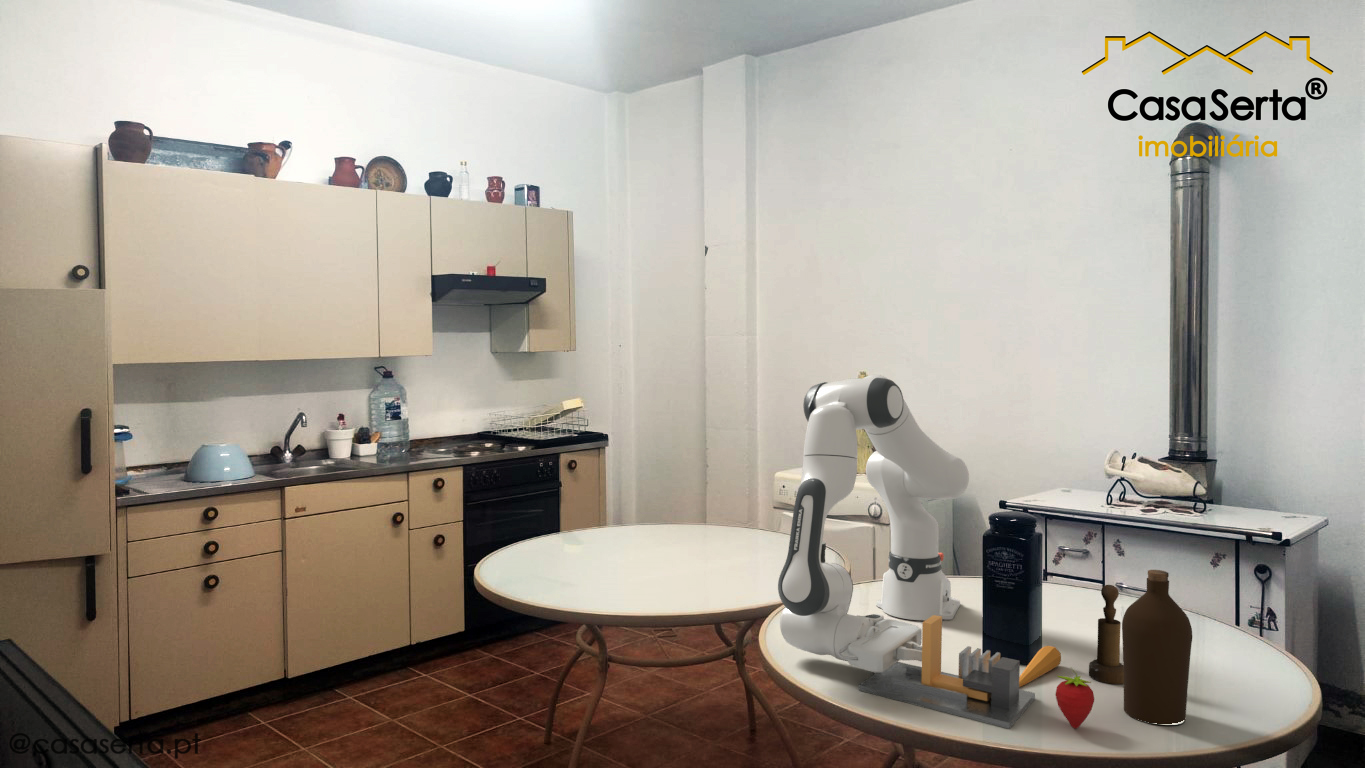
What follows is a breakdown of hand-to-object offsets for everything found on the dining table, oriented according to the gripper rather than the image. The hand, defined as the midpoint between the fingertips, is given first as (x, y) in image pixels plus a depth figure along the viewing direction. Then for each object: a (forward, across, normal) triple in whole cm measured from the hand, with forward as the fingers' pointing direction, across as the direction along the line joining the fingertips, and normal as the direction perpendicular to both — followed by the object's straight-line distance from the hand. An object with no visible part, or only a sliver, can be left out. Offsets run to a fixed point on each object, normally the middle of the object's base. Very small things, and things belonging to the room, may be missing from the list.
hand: (927, 655), depth 161 cm
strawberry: (+26, -1, +7) cm, 27 cm away
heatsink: (+4, 0, +6) cm, 7 cm away
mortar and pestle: (+26, +27, +7) cm, 38 cm away
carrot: (+14, +19, +7) cm, 24 cm away
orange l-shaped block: (+6, 0, +5) cm, 8 cm away
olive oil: (+36, +13, +7) cm, 39 cm away
